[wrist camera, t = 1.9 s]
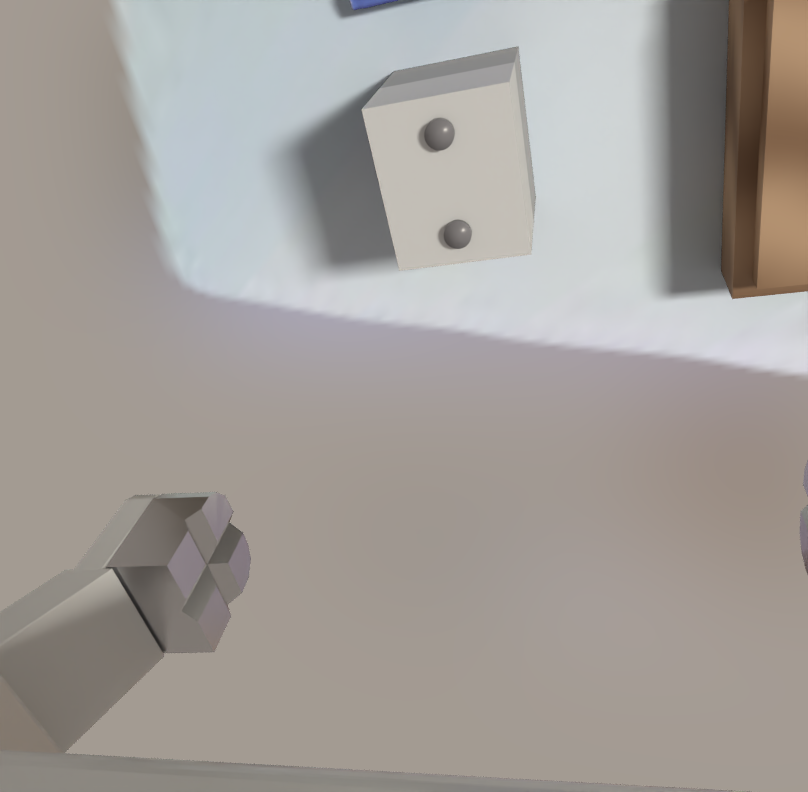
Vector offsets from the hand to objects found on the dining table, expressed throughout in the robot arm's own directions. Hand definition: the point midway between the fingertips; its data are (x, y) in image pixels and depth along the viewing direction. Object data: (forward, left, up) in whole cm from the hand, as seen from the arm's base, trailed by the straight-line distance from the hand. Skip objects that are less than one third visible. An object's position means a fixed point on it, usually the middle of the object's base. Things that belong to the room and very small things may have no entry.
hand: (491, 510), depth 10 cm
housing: (+1, -3, -23) cm, 23 cm away
